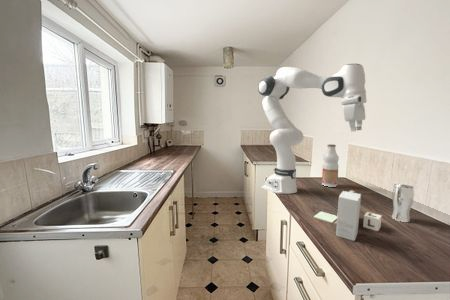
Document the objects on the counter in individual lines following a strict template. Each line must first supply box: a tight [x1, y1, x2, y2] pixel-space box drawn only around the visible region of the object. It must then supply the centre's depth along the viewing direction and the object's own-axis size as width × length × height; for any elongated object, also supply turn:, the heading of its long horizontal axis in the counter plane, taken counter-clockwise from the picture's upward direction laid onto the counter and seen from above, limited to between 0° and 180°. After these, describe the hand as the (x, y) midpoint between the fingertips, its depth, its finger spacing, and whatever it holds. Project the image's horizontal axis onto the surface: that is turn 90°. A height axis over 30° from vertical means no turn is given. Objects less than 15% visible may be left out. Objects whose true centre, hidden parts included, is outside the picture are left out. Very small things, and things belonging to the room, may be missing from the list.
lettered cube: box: [362, 211, 382, 232], centre depth 86 cm, size 5×5×5 cm
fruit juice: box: [321, 143, 340, 188], centre depth 142 cm, size 9×9×28 cm
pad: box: [313, 211, 337, 224], centre depth 96 cm, size 8×8×1 cm
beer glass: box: [391, 183, 415, 223], centre depth 92 cm, size 7×7×15 cm
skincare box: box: [335, 190, 362, 242], centre depth 80 cm, size 8×7×16 cm
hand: (356, 130), depth 97 cm, fingers open, 8 cm apart
